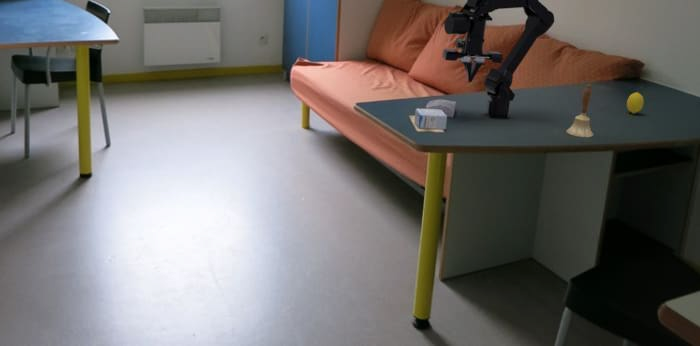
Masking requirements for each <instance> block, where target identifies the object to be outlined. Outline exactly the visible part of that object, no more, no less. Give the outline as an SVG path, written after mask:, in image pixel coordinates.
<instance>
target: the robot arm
mask: <svg viewBox="0 0 700 346" xmlns="http://www.w3.org/2000/svg"><path fill="white" fill-rule="evenodd" d="M515 8H516V9H519V8H523V12H524V14H525V15H526V17H527V18H526V20H525V26H524V30H523V32H522V34H520V37H519V38H518V40H517V41H516V43H515V44H514V46H513V47H512V48H511V50H510V51H509V53H508V54H507V56H506V57H505V59H504V55H503V53H501V52H499V51H493V50H492V51H491V50H488V51H487V53H484V52H483V49H484V43H485V33H486V32H485V31H486V25H487V24H486V23H487V21H488V22H489V21H490V22H492V21H493V18H492V17H491V15H490V13H492V12H495V11H497V10H504V9H515ZM554 23H555V16H554V13H553V12H552V11H551V10H549V9H548V8H547V7H546V6H545V5H544V4H543V3H542V2H540V1H539V0H466V3H464V5H463V6H462V8H461V9H460V10H459V12H453V11H449V13H448V16H447V17H446V19H445V21H444V24H443V25H444V26H443V27H444V32H445V34H447V35H465V37H464V39H463V38H461V37H459V38H456V41H455V48H454V49H453V48H451V49H450V48H444V50H443V51H442V58H443V59H444V60H445V61H451V62H453V61H454V62H456V61H457V60H458V59H459V61H460V63H462V64H463V66H464V68H465V72H466V77H467V82H468V83H472V82H473V80H474V78H475V76H476V74H477V73H478V72H479V70H480V68H481V67H482V66H484V65H485V64H486V63H485V60H488V61H489V60H491V61H492V63H495V64H501V65H500V66H499V67H497V68H494V67H491V69H490V70H489V72H488V74H487V75H486V76H485V77H484V82H483V85H484V89H485V90H486V95H487V96H489V100H487V103H486V110H485V111H486V112H485V113H486V115H487V116H489V117H490V118H495V119H496V118H497V119H498V118H499V119H510V116H509V109H510V105H511V104H510V102H512V101H514V98H515V96H516V95H515V93H514V92H513V91H512V90H513V89H512V88H511V86H512V84H513V78H514V74H515V72H516V71H517V69H518V67H519V66H520V64H521V63H522V62H523V60H524V59H525V57H526V56H527V54H528V52H529V51H530V49H531V48H532V47H533V45H534V43H535V42H536V40H537V39H538V38H539V37H541V36H542V35H544V34H545V33H547V32H548V31H549V30H550V29H551V27H552V26H554ZM458 50H460V51H458ZM471 59H472V60H471Z"/></svg>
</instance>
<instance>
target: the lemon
mask: <svg viewBox="0 0 700 346" xmlns="http://www.w3.org/2000/svg"><path fill="white" fill-rule="evenodd" d="M644 102H645V101H644V96H643V95H642V94H640V92H638V91H637V92H633V93H632V94H630V95H629V96H628V99H627V101H626V107H627V109H628V111H629V112H631V114H632V115H634V114H636V113H638V112H640V111H641V110H642V109H643V107H644Z"/></svg>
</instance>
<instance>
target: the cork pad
mask: <svg viewBox="0 0 700 346" xmlns="http://www.w3.org/2000/svg"><path fill="white" fill-rule="evenodd" d="M408 118H409V120H410V121H411V124H412V125H413V127H414V129H415V131H416V132H418V133H420V132H421V133H442V134H444V133H445V129H424V128H418V126H417V125H416V123H415V121H414V120H415V115H408Z"/></svg>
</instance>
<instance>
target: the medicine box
mask: <svg viewBox="0 0 700 346" xmlns="http://www.w3.org/2000/svg"><path fill="white" fill-rule="evenodd" d="M414 116H415V120H414V121H415V123H416V125H417V126H418V128H424V129H443V130H446V129H447V121H448V117H447V116H446V115H445V113H444V112H443V111H442V110H440V109H426V108H415V112H414Z"/></svg>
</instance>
